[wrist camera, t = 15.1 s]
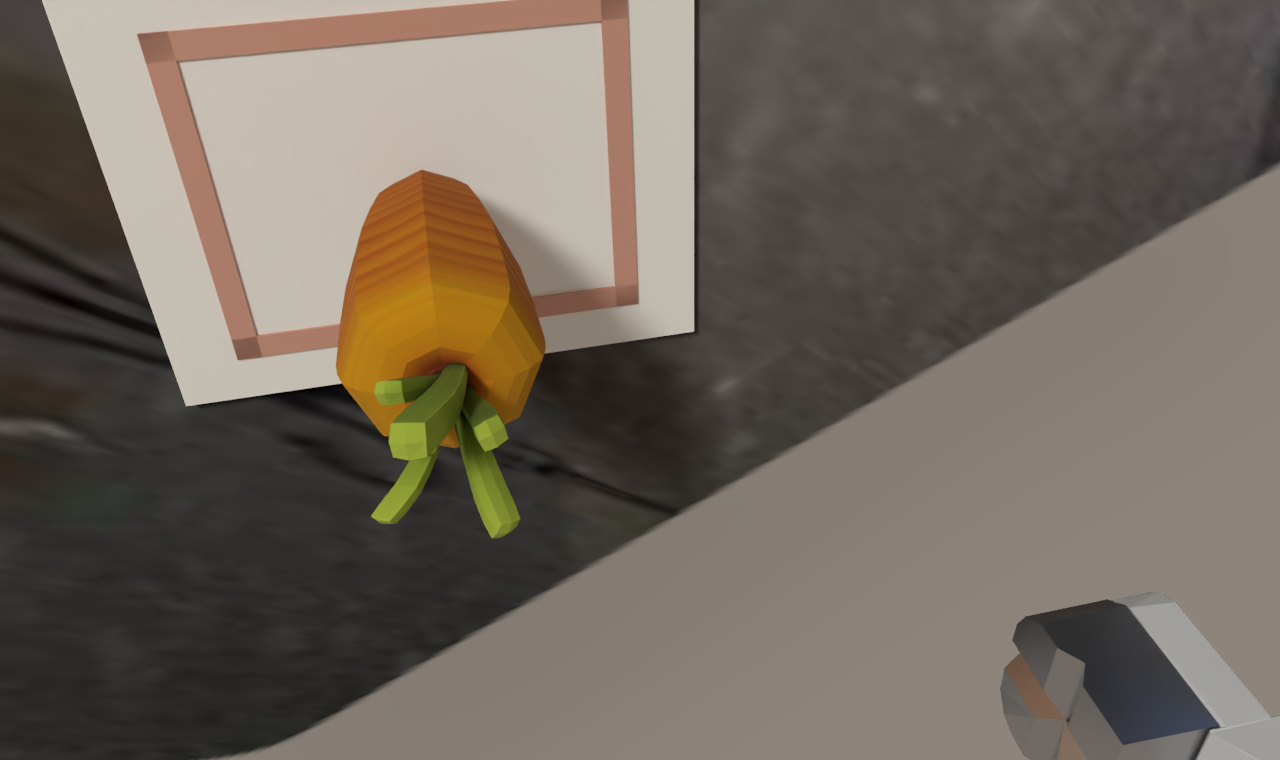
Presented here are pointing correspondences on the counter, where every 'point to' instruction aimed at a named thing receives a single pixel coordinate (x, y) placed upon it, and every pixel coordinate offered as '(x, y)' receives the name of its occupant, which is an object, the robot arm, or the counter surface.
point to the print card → (384, 160)
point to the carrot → (439, 338)
